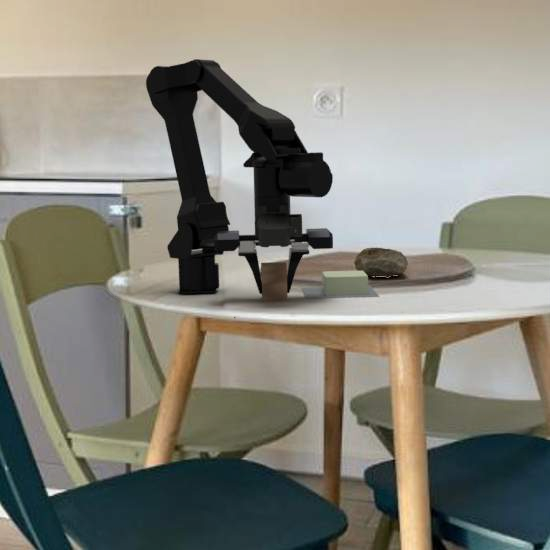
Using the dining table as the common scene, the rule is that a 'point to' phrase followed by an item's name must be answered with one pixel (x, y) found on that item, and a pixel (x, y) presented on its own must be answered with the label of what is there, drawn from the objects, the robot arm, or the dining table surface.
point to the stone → (381, 262)
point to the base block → (345, 282)
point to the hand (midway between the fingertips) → (274, 293)
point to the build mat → (319, 293)
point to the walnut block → (274, 282)
